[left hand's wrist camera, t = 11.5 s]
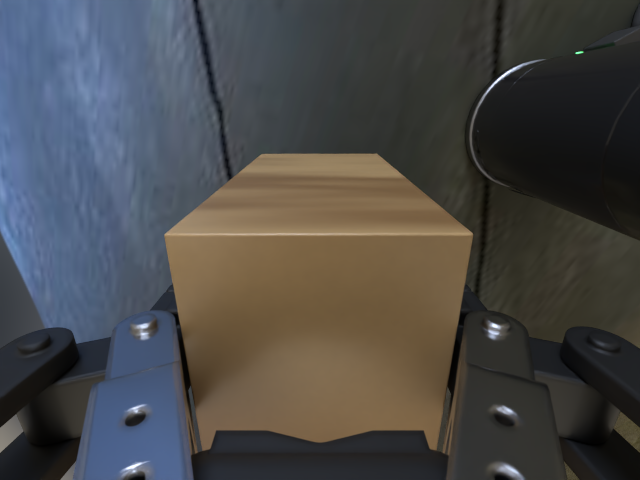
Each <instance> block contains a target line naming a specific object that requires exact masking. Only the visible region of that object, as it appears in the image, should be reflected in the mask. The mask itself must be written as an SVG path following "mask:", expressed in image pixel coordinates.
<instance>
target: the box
mask: <svg viewBox="0 0 640 480" xmlns="http://www.w3.org/2000/svg"><path fill="white" fill-rule="evenodd" d="M472 240H473V233H472V232H470V231H469V230H468V229H467V228H466V227H464V226H463V225H462V224H461V223H460V222H458V221H457V220H456V219H455V218H454V217H452V216H451V215H450V214H449V213H448V212H446V211H445V210H444V209H443V208H442V207H440V206H439V205H438V204H437V203H436V202H434V201H433V200H432V199H431V198H430V197H428V196H427V195H426V194H425V193H423V192H422V191H421V190H420V189H419V188H417V187H416V186H415V185H414V184H413V183H411V182H410V181H409V180H408V179H407V178H405V177H404V176H403V175H402V174H401V173H399V172H398V171H397V170H396V169H395V168H393V167H392V166H391V165H390V164H389V163H387V162H386V161H385V160H384V159H383V158H381V157H380V156H379V155H378V154H261V155H260V156H259V157H257V158H256V159H255V160H254V161H253V162H251V163H250V164H249V165H248V166H247V167H245V168H244V169H243V170H242V171H241V172H239V173H238V174H237V175H236V176H234V177H233V178H232V179H231V180H230V181H228V182H227V183H226V184H225V185H224V186H222V187H221V188H220V189H219V190H218V191H216V192H215V193H214V194H213V195H211V196H210V197H209V198H208V199H207V200H205V201H204V202H203V203H202V204H201V205H199V206H198V207H197V208H196V209H195V210H193V211H192V212H191V213H190V214H189V215H187V216H186V217H185V218H184V219H182V220H181V221H180V222H179V223H178V224H176V225H175V226H174V227H173V228H172V229H170V230H169V231H168V232H167V233H166V234H165V242H166V247H167V253H168V259H169V264H170V270H171V276H172V281H173V287H174V292H175V298H176V304H177V309H178V315H179V321H180V326H181V332H182V337H183V343H184V349H185V354H186V360H187V366H188V371H189V377H190V382H191V388H192V394H193V399H194V405H195V411H196V416H197V422H198V427H199V433H200V439H201V444H202V450H203V451H204V450H208V449H210V448H211V445H212V442H213V439H214V436H215V433H216V430H268V431H272V432H276V433H280V434H284V435H288V436H292V437H296V438H300V439H304V440H308V441H313V442H318V443H322V442H327V441H332V440H336V439H340V438H344V437H348V436H352V435H356V434H360V433H364V432H368V431H372V430H424V433H425V436H426V439H427V442H428V445H429V448H430V449H432V450H436V449H437V443H438V437H439V432H440V426H441V420H442V414H443V408H444V403H445V397H446V391H447V385H448V379H449V373H450V368H451V362H452V356H453V350H454V344H455V338H456V333H457V327H458V321H459V315H460V309H461V304H462V298H463V292H464V286H465V280H466V274H467V269H468V263H469V257H470V251H471V245H472Z"/></svg>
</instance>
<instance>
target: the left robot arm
mask: <svg viewBox="0 0 640 480" xmlns="http://www.w3.org/2000/svg"><path fill="white" fill-rule="evenodd" d="M583 50H584V52H577V53H576V54H572V55H567V56H561V57H556V58H551V59H543V60H535V61H530V62H525V63H521V64H518V65H515V66H513V67H511V68H509V69H507V70H505V71H503V72H502V73H500V74H499V75H498V76H496V77H495V78H494V79H493V80H492V81H490V82H489V83H488V84H487V86H486V87H485V88H484V89H483V90H482V91H481V93H480V94H479V96H478V97H477V99H476V100H475V102H474V104H473V106H472V108H471V111H470V113H469V116H468V120H467V125H466V133H465V140H466V148H467V152H468V155H469V157H470V160H471V162H472V163H473V165H474V166H475V168H476V169H477V170H478V171H479V172H480V173H481V174H482V175H483V176H484V177H486V178H487V179H489V180H491V181H493V182H496V183H498V184H501V185H503V186H507V187H511V188H514V189H516V190H518V191H520V192H517V191H514V190H512V191H514V192H517V193H520V194H524V193H525V194H524V195H527V194H528V195H527V196H531V197H534V198H537V199H540V200H542V201H545V202H547V203H550V204H552V205H554V206H557V207H559V208H562V209H564V210H567V211H569V212H571V213H574V214H576V215H579V216H581V217H584V218H586V219H588V220H591V221H593V222H596V223H598V224H601V225H603V226H605V227H608V228H610V229H613V230H615V231H618V232H620V233H623V234H625V235H627V236H630V237H632V238H635V239H637V240H640V4H639V6H638V8H637V9H636V11H635V14H634V17H633V21H632V27H631V28H627V29H623V30H619V31H615V32H612V33H611V34H609V35H607V36H605V37H603V38H601V39H600V40H598V41H596V42H594V43H592V44H591V45H589V46H587V47H585V48H584V49H583ZM509 190H510V189H509ZM521 192H523V193H521ZM166 291H167V292H165V293H164V294H163V295H162V297H161V298H160V299H159V300H158V301H157V303H156V304H155V305H154V306H153V307H152V309H151V310H150V311H145V312H141V313H138V314H135V315H132V316H130V317H128V318H126V319H124V320H123V321H121V322H120V323H119V324H118V325H117V326H116V327H115V328H114V329H113V331H112V335H111V337H109V338H104V339H99V340H94V341H89V342H84V343H78V344H76V342H75V339H74V336H73V333H72V331H70V330H69V329H66V328H47V329H42V330H38V331H35V332H32V333H29V334H26V335H24V336H21V337H19V338H17V339H15V340H14V341H12V342H10V343H8V344H7V345H5V346H4V347H2V348H1V349H0V427H1V426H3V425H4V424H5V423H6V422H7V421H8V420H10V419H11V418H12V417H13V416H14V415H15V414H16V415H17V417H18V419H19V421H20V424H21V426H22V428H23V431H24V432H22V433H21V434H20V435H19V436H18V437H17V438H16V439H15V440H14V441H13V442H12V443H11V444H9V445H8V446H7V447H6V448H5V449H4V450H3V451H2V452H1V453H0V480H60V479H61V478H62V477H63V476H64V474H65V473H66V472H67V471H68V470H69V469H70V467H71V466H72V465H73V464H74V463H75V461H76V465H75V470H74V475H73V480H567V475H566V470H565V465H564V461H565V463H566V464H567V465H568V466H569V467H570V469H571V470H572V471H573V472H574V473H575V474H576V476H577V477H578V478H579V479H580V480H640V453H639V452H638V451H637V450H636V449H635V448H634V447H633V446H632V445H631V444H629V443H628V442H627V441H626V440H625V439H624V438H623V437H622V436H621V435H620V434H619V433H618V432H616V431H615V430H614V429H613V428H614V425H615V423H616V421H617V418H618V416H619V414H620V411H621V412H622V413H623V414H625V415H626V416H627V417H628V418H629V419H630V420H632V421H633V422H634V423H635V424H636V425H637V426H639V427H640V349H639V348H638V347H636V346H635V345H633V344H632V343H630V342H628V341H627V340H625V339H623V338H621V337H619V336H617V335H615V334H612V333H610V332H607V331H604V330H600V329H596V328H591V327H573V328H570V329H568V330H567V331H566V334H565V337H564V340H563V343H557V342H552V341H547V340H541V339H536V338H531V337H529V335H528V331H527V329H526V328H525V327H524V326H523V325H522V324H521V323H520V322H519V321H517V320H516V319H514V318H512V317H510V316H508V315H505V314H502V313H499V312H495V311H488V310H487V309H486V308H485V306H484V305H483V304H482V303H481V301H480V300H479V299H478V298H477V297H476V295H475V294H474V293H473V292H471V289H470V288H469V287H468V286H467V285H465V286H464V292H463V298H462V304H461V309H460V315H459V321H458V327H457V333H456V338H455V344H454V350H453V356H452V362H451V368H450V373H449V379H448V385H447V386H448V388H449V390H450V393H451V398H450V404H449V411H448V418H447V425H446V432H445V439H444V446H443V453H442V452H439V451H436V450H432V449H430V448H429V445H428V442H427V439H426V436H425V433H424V430H372V431H368V432H364V433H360V434H356V435H352V436H348V437H344V438H340V439H336V440H332V441H327V442H322V443H318V442H313V441H308V440H304V439H300V438H296V437H292V436H288V435H284V434H280V433H276V432H272V431H268V430H216V433H215V436H214V439H213V442H212V445H211V448H210V449H208V450H204V451H201V452H198V453H197V446H196V439H195V432H194V425H193V418H192V411H191V404H190V398H189V393H188V390H189V388H190V386H191V382H190V377H189V371H188V366H187V360H186V354H185V349H184V343H183V337H182V332H181V326H180V321H179V315H178V309H177V304H176V298H175V292H174V287H173V283H172V285H171V286H170V287H169V288H168V289H167V290H166Z"/></svg>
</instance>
